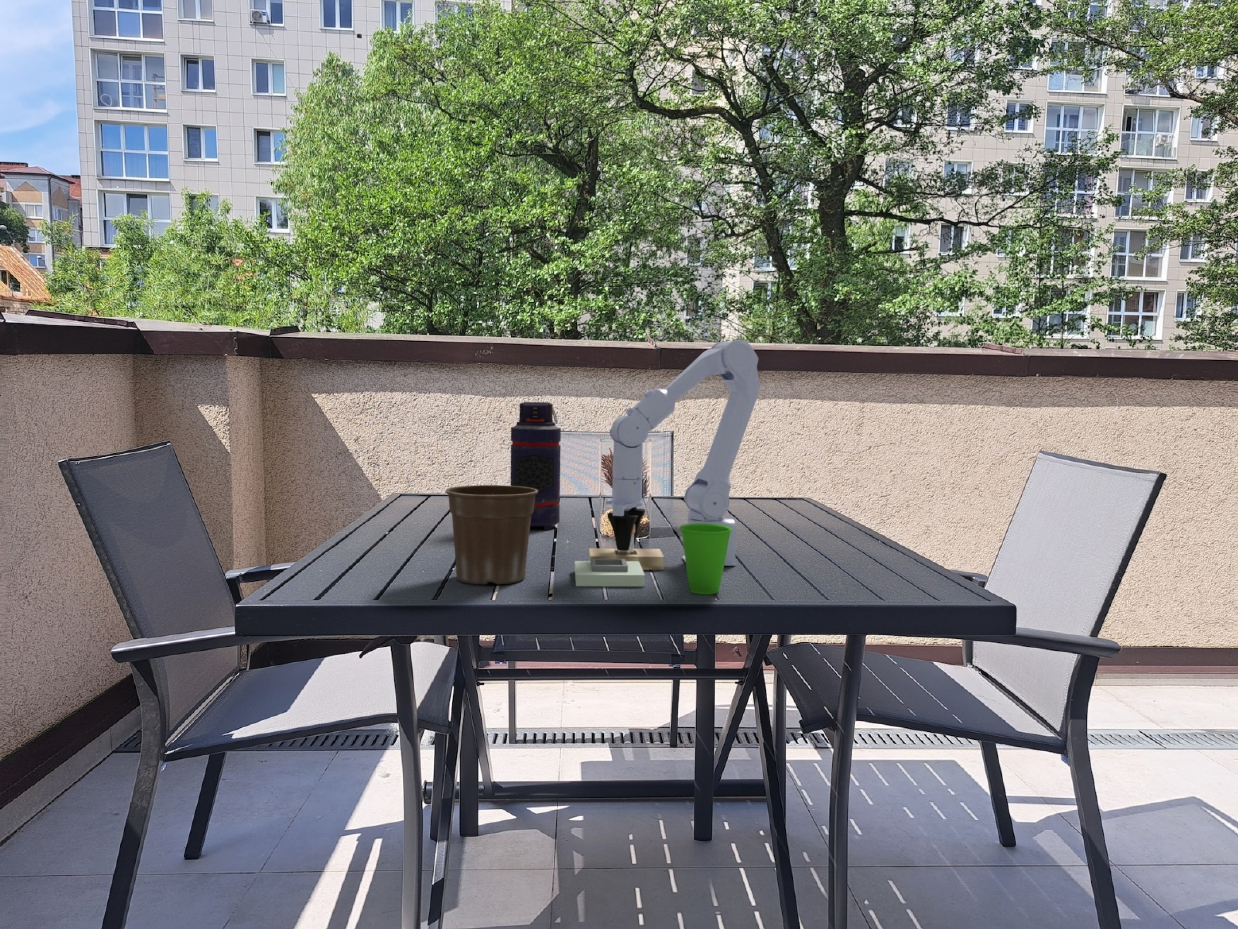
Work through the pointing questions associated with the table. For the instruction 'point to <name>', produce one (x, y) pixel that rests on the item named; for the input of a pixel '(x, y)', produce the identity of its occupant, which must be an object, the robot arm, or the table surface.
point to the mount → (632, 557)
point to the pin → (631, 548)
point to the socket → (609, 573)
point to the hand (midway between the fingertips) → (625, 547)
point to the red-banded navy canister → (538, 460)
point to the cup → (705, 555)
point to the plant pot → (491, 532)
